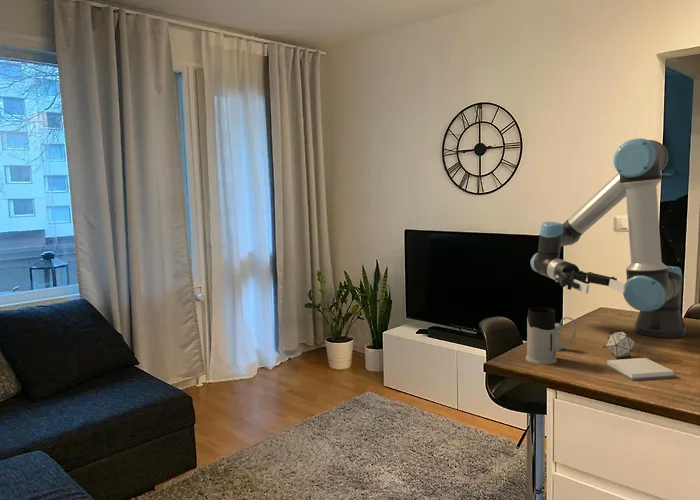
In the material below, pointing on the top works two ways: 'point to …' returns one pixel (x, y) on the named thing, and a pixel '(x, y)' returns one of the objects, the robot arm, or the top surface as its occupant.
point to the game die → (620, 344)
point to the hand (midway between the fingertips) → (606, 289)
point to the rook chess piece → (557, 338)
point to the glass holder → (542, 335)
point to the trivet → (640, 369)
